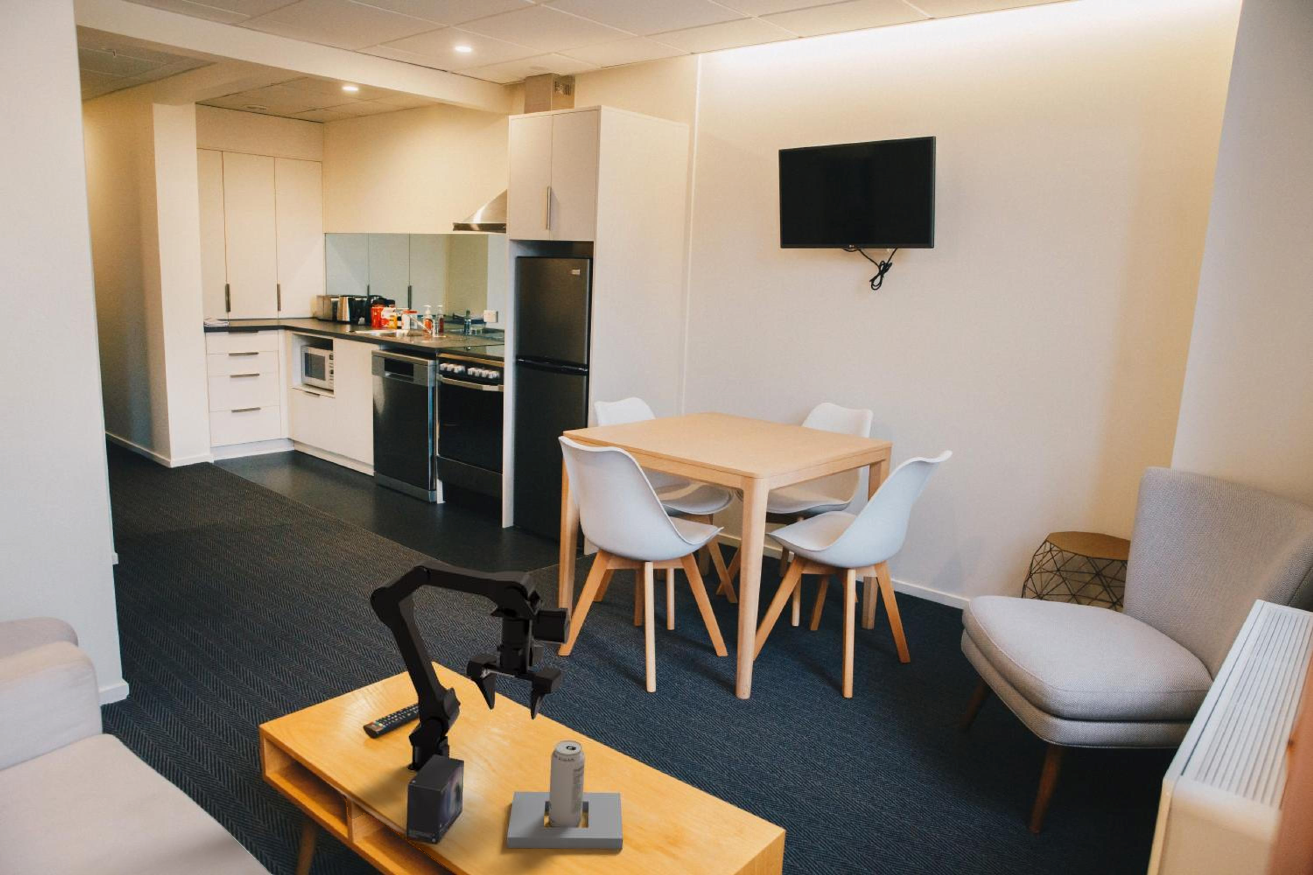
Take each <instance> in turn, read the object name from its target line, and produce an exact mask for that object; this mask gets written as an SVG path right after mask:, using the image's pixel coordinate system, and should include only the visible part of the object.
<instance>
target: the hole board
mask: <svg viewBox="0 0 1313 875" xmlns="http://www.w3.org/2000/svg"><path fill="white" fill-rule="evenodd" d="M549 797H550V791H515V790H514V792H513V797H512V804H511V809H510V810H511V811H510V817H509V823H508V830H507V838H506V849H577V850H578V849H579V850H580V849H581V850H582V849H588V850H590V849H592V850H593V849H594V850H595V849H596V850H598V849H603V850H605V849H606V850H610V849H612V850H613V849H614V850H623V848H624V847H623V846H624V843H623V842H624V835H623V834H624V833H623V832H624V830H623V829H624V828H623V815H622V814H623V813H622V799H621V798H622V797H621V792H588V791H587V792H586V791H585V792H584V791H583V806H582V812H587V827H577V828H573V827H552V826H548V827H546V826H544V825H545V815H546V812H549Z"/></svg>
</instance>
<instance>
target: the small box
mask: <svg viewBox="0 0 1313 875" xmlns="http://www.w3.org/2000/svg"><path fill="white" fill-rule="evenodd" d="M464 767H465V760H463V759H459V758H455V757H454V758H452V757H450V756H449V757H444V756H439V755H433V756H432V758H431V759H430V760H429V761H428V762H427V763H426V764H425V765H424V766H423V767H422V768H421V770H420V771H419V772H416V774H415V775H414V776H413V777H412V778H411V779H410V781H408V782H407V793H406V795H407V797H406V825H405V826H406V827H405V839H408V840H409V839H410V840H414V841H419V842H424V843H429V844H434V845H438V844H439V843H440V842H441V840H442V839H443V837H444V836H445V834H447V832H448V830H450V828H451V827H452V825H453V824H454V823H455V822H456V820H457V819H458V818H459V816H460V815H461V814H462V813H463V798H464V797H463V794H464V773H465V768H464Z"/></svg>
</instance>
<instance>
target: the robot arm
mask: <svg viewBox="0 0 1313 875" xmlns="http://www.w3.org/2000/svg"><path fill="white" fill-rule="evenodd" d="M422 586H429V587H435V588H439V589H443V590H449V591H452V592H453V591H454V592H459V593H463V594H464V593H466V594H470V595H474V596H480V597H482V598H485V599H487V600H489V602H491V603H493V604H494V605H497V606H496V607H494V608H493V610H492V611H491V612H490V614H489V616H490V617H492V618H500V633H499V634H500V635H499V636H500V639H499V644H497V646H496V652H499V662H498V657H497V656H496V655H495V654H494V655H493V654H490V653H484V652H479V653H478V654H476V655H475V656H473V657H472V658H471V659H469V660H468V661H467V662H466V664H465V666H464V668H465V670H464V672H465V673H464V674H465V676H466V677H470V681H472V682H474V683H475V685H476V686H477V687H478V689H479V691H480V692H481V694H482V696H483V698H484V700H485V703H486V704H487V706H488V708H489V710H493V709H495V703H496V678H497V675H500V676H501V675H503V676H505V677H506V676H507V677H510V678H514V679H519V680H523V681H528V682H531V688H532V690H531V691H530V692H529V694H530V695H529V698H530V699H529V700H530V701H529V702H530V704H529V705H530V707H529V708H530V710H529V711H530V719H531V720H532V721H533V720H535V719H536V718H537V715H538V712H539V711H540V708H541V705H542V702H543V701H544V698H545V697H546V696H547V695H549V694H550V695H551V694H553V693H554V692H555V691H556V690H557V689H558V688H559V687H560V686H561V685H562V684H564V674H563V672H562V671H561V669H557V668H553V667H548V666H543V667H542V668H541V669H540V670H538V671H534V670H530V668H533V667H534V666H535V665H536V663H537V662H538V663H542V659H543V654H544V648H545V646H543V645H541V644H537V643H536V644H535V643H534V640H536V641H537V642H540V643H547V644H549V643H550V644H561V645H567V644H568V642H569V638H570V632H571V622H572V621H571V620H570V615H569V608H568V607H549V606H544V605H545V601H544V600H543V598H542V597H541V595H540V594H539V592H538V591H537V589H536V588H535V583H534V579H533V578H532V577H531V575H530V574H529V573H527V572H525V571H511V570H509V571H508V570H507V571H506V570H505V571H499V572H485V571H481V570H477V569H476V570H475V569H470V568H464V567H461V566H455V565H449V564H445V563H438V562H434V561H433V560H430V559H424V560H421V561H420V562H419V563H417V564H416V565H415V566H414V567H413V568H411V569H410V570H408V571H407V572H406V573H404V574H403V575H401V576H400V577H397V576H395V577H390V578H388V579H386V580H385V581H384V582H382V583H381V584H380V585H379V586H377V587H376V588H375V589H374V590H373V591H372V593H371V595H370V597H369V605H370V608H371V609H372V611H373V613H374V614H375V616H376V617H377V619H378V620H379V622H381V624H383V625H384V626H385V627H386V628H387V629H388V630H390V632H391V634H392V637H393V639H394V641H395V644H396V648H397V649H398V651H399V653H400V656H401V659H402V661H403V663H404V666H405V669H406V671H407V674H408V676H409V678H410V681H411V683H412V685H413V688H414V690H415V693H416V695H417V715H418V716H417V717H418V719H419V720H418V721H419V722H418V723H417V725H415V727H414V728H413V730H412V731H411V732H410V734H408V740H409V743H410V746H411V747H412V750H411V751H412V752H411V753H412V755H411V762H410V763H409V764H408V765H407V768H406V769H407V770H409V771H411V772H416V773H418V772H419V771H420V770H421V768H422V767H423V766H424V765H425V764H426V763H427V762H428V761H429V760H430V759H431V758H432V756H433V755H439V756H444V757H449V758H450V747H451V746H450V744H449V736H448V735H447V734H448V733H449V732H450V730H451V728H452V727H453V726H454V724H455V722H456V721H457V720H458V717H459V716H460V714H461V712H460V711H461V710H460V706H461V705H462V703H461V701H460V700H459V699H458V698H457V695H456V691H455V688H454V687H453V686H452V687H449V688H448V689H447V688H446V687H445V686H444V685H442V684H441V682H440V680H439V678H438V676H437V673H436V670H435V667H434V664H433V662H432V660H431V658H430V656H429V653H428V650H427V648H426V646H425V643H424V641H423V638H422V635H421V633H420V630H419V628H418V626H417V624H416V621H415V613H414V612H415V610H414V606H415V604H414V598H413V593H414V592H416V591H417V590H418V589H420V588H421V587H422ZM529 603H530V604H529ZM531 636H533V640H532V639H531Z"/></svg>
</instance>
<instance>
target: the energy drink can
mask: <svg viewBox="0 0 1313 875" xmlns="http://www.w3.org/2000/svg"><path fill="white" fill-rule="evenodd" d="M550 755H551V756H550V757H551V758H550V774H549V775H550V777H549V792H550V797H549V811H548V822H549V824H550V825H551V827H573V828H579V825H580V824H581V823H582V820H583V811H582V806H583V792H584V783H585V766H586V765H585V762H586V755H585V752H584V750H583V745H582V744H581V743H580V742H579V741H576V740H567V739H565V740H561V741H559V742H557V743H556V744H555V746H554V750H553V751H552V753H551V754H550Z"/></svg>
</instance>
